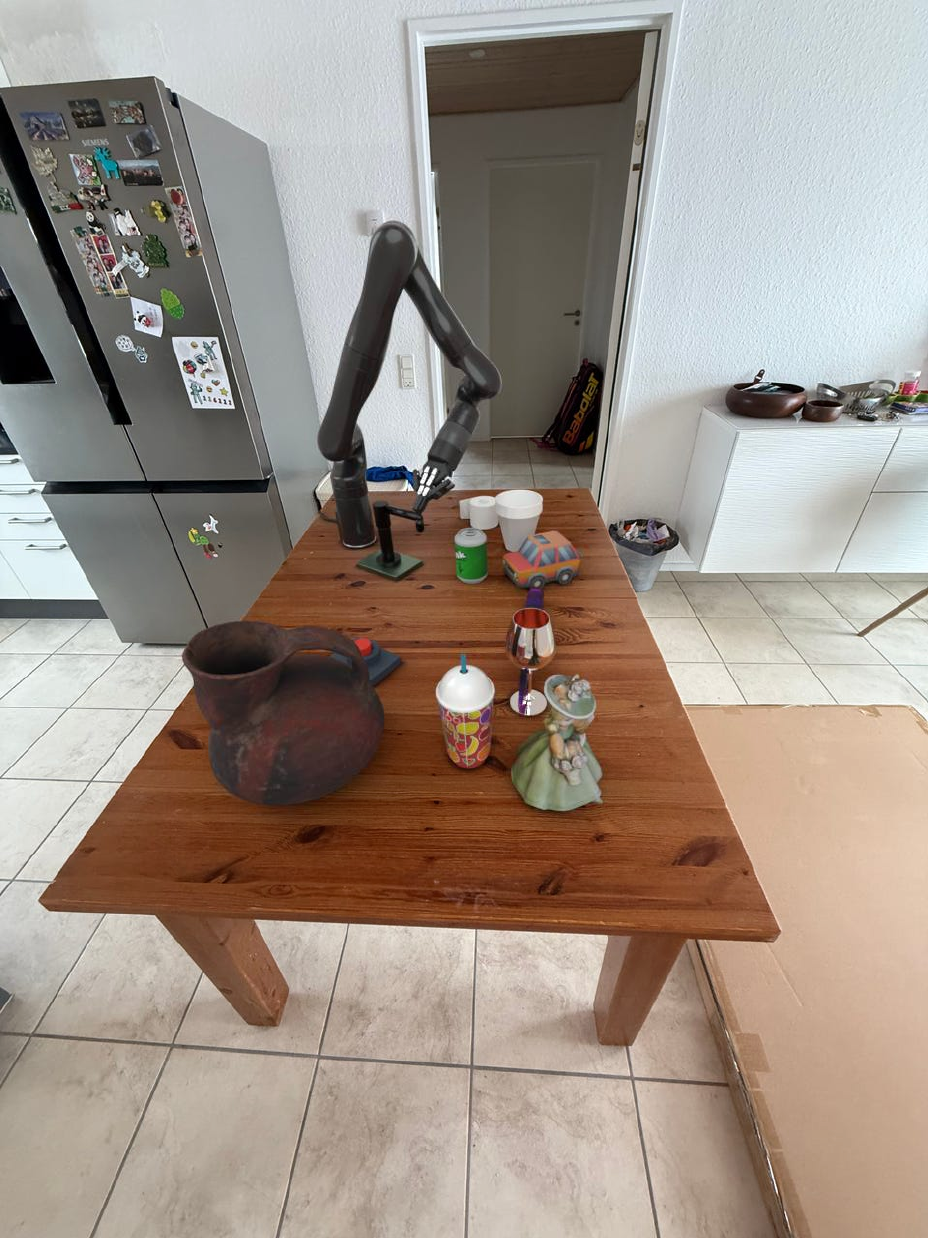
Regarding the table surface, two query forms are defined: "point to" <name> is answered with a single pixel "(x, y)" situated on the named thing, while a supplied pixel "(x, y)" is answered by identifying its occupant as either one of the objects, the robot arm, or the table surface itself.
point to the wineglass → (530, 654)
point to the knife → (536, 601)
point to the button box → (375, 662)
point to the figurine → (560, 751)
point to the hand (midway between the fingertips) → (416, 511)
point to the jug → (283, 710)
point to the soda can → (471, 555)
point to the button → (364, 646)
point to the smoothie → (466, 713)
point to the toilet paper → (479, 512)
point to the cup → (518, 516)
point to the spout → (384, 511)
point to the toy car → (542, 561)
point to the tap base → (389, 559)
